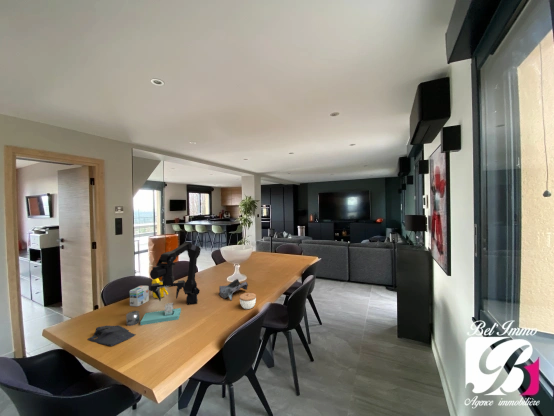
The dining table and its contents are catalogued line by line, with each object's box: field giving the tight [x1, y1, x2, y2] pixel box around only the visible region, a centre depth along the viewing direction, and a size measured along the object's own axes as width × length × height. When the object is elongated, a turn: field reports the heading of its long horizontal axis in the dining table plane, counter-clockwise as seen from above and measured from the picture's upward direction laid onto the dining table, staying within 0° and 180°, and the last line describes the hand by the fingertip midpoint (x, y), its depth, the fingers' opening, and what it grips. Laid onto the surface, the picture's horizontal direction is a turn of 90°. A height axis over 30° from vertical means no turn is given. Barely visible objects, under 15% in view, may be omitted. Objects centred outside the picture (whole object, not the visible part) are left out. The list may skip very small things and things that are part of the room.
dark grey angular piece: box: [218, 278, 249, 301], centre depth 171 cm, size 18×20×9 cm
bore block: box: [139, 307, 182, 326], centre depth 137 cm, size 20×11×2 cm, turn 106°
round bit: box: [125, 310, 141, 327], centre depth 131 cm, size 6×6×6 cm
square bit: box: [164, 302, 174, 316], centre depth 138 cm, size 4×4×8 cm
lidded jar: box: [239, 292, 257, 310], centre depth 148 cm, size 11×11×9 cm
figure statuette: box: [151, 278, 169, 300], centre depth 169 cm, size 18×8×22 cm, turn 62°
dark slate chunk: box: [86, 324, 137, 347], centre depth 118 cm, size 15×22×5 cm
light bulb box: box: [129, 285, 150, 307], centre depth 160 cm, size 11×7×11 cm, turn 168°
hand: (168, 299), depth 138 cm, fingers open, 9 cm apart
